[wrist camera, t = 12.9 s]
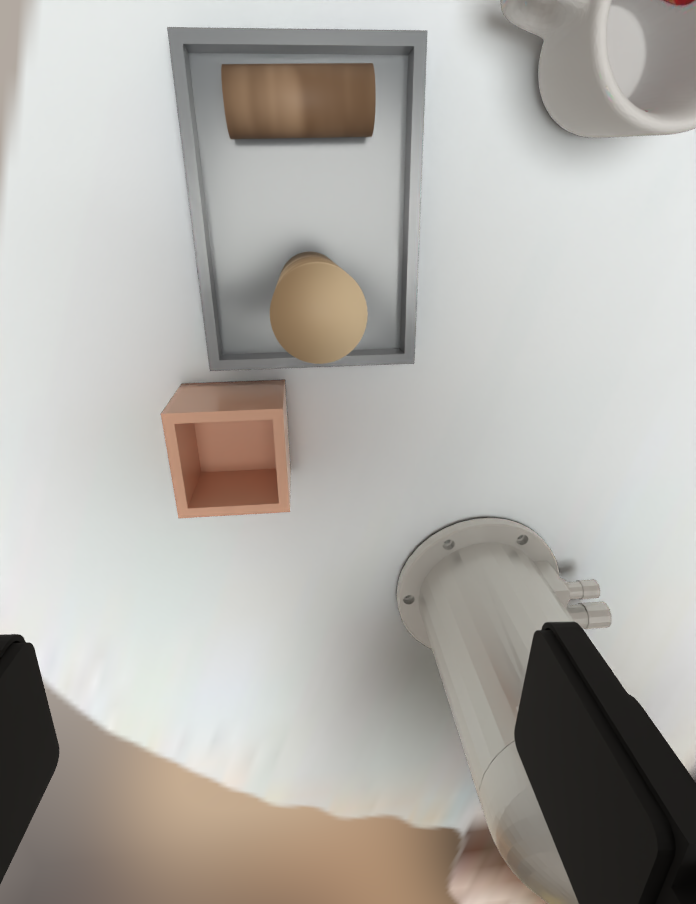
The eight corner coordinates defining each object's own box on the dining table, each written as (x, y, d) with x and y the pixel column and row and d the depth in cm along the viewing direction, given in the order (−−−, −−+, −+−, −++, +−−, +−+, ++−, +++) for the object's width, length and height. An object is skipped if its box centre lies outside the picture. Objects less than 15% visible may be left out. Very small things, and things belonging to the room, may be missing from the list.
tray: (417, 43, 27) (427, 30, 25) (407, 355, 33) (414, 363, 31) (176, 41, 26) (167, 27, 24) (215, 361, 32) (210, 371, 30)
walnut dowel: (367, 69, 26) (375, 57, 24) (367, 139, 28) (375, 134, 25) (226, 70, 26) (218, 57, 23) (233, 141, 27) (227, 136, 25)
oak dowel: (341, 251, 30) (367, 262, 19) (341, 315, 31) (367, 362, 20) (277, 251, 29) (266, 264, 18) (281, 317, 31) (273, 365, 20)
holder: (285, 379, 33) (282, 408, 28) (290, 470, 36) (290, 511, 31) (181, 383, 33) (160, 413, 28) (195, 475, 35) (178, 518, 30)
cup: (445, 104, 28) (498, 64, 21) (507, -84, 25) (594, -208, 18) (617, 174, 30) (720, 161, 23) (692, 9, 27) (838, -68, 20)
